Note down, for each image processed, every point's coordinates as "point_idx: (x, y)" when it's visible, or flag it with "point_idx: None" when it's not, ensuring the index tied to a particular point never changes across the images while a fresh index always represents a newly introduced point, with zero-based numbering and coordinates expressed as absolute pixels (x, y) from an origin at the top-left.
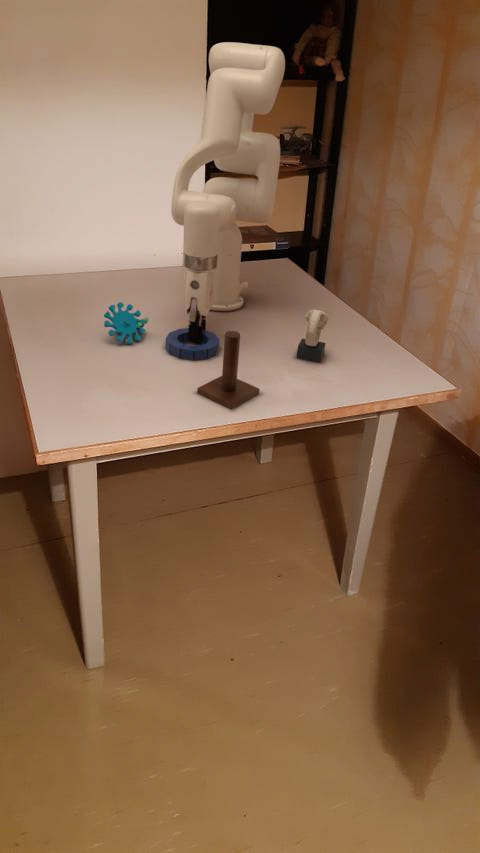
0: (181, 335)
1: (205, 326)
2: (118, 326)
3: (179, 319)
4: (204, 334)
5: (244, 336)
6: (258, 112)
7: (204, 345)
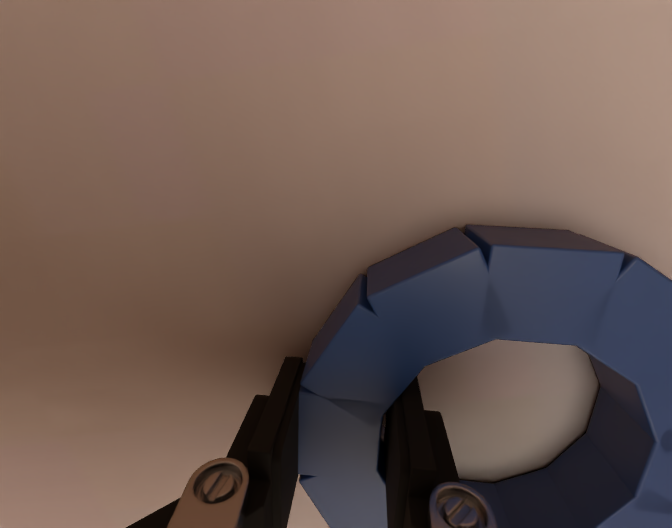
0: None
1: (272, 399)
2: None
3: (89, 496)
4: (403, 383)
5: (155, 37)
6: None
7: (647, 362)
